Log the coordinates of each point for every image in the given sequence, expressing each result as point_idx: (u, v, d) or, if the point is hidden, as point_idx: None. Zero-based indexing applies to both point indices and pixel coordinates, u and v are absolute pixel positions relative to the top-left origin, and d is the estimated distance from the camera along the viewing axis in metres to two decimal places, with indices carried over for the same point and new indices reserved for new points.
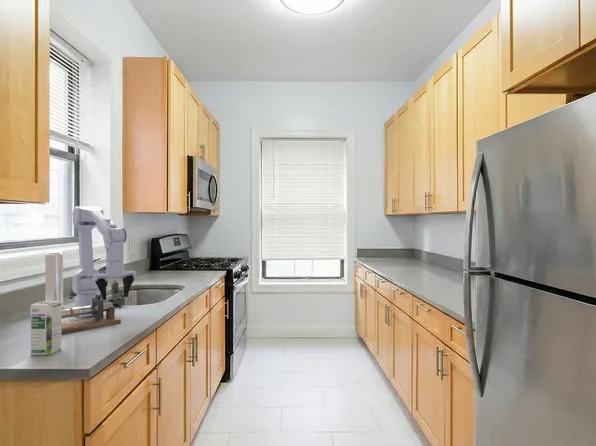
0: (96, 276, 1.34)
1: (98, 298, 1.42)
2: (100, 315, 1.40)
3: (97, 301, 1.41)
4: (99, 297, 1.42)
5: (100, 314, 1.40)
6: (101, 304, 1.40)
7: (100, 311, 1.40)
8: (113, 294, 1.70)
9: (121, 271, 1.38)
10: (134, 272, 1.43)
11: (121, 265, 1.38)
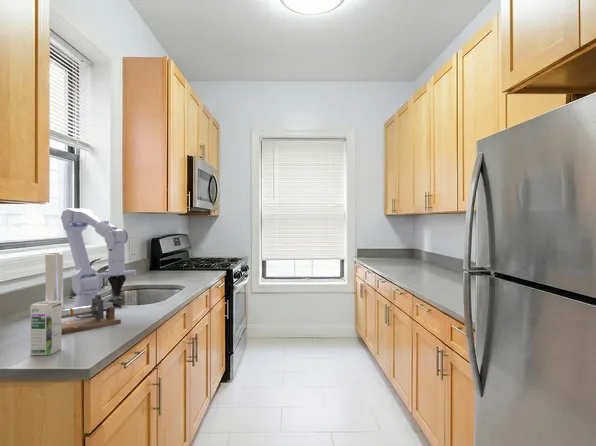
0: (99, 275, 1.42)
1: (98, 298, 1.42)
2: (100, 315, 1.40)
3: (97, 301, 1.41)
4: (99, 297, 1.42)
5: (100, 314, 1.40)
6: (101, 304, 1.40)
7: (100, 311, 1.40)
8: (113, 294, 1.70)
9: (122, 270, 1.47)
10: (134, 271, 1.52)
11: (122, 264, 1.47)
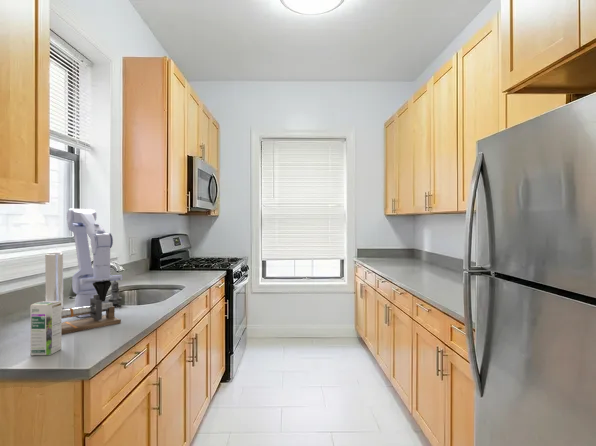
0: (83, 280, 1.38)
1: (96, 298, 1.41)
2: (98, 315, 1.40)
3: (95, 301, 1.40)
4: (97, 297, 1.42)
5: (98, 314, 1.40)
6: (99, 304, 1.40)
7: (98, 311, 1.40)
8: (113, 294, 1.70)
9: (108, 275, 1.43)
10: (121, 276, 1.48)
11: (108, 269, 1.43)
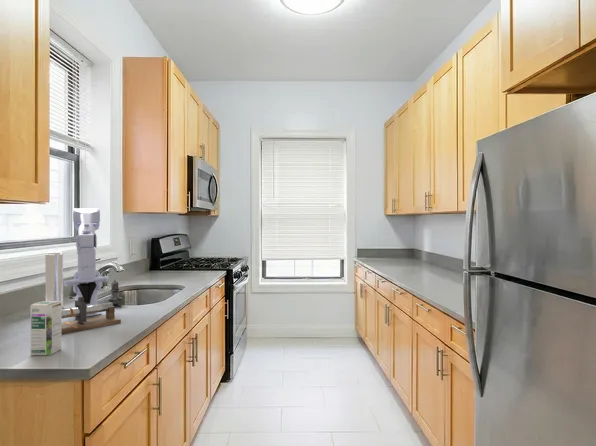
0: (67, 282, 1.34)
1: (81, 300, 1.38)
2: (83, 318, 1.36)
3: (80, 304, 1.36)
4: (82, 299, 1.38)
5: (83, 317, 1.36)
6: (84, 307, 1.36)
7: (83, 314, 1.36)
8: (113, 294, 1.70)
9: (93, 277, 1.39)
10: (107, 277, 1.44)
11: (93, 271, 1.39)
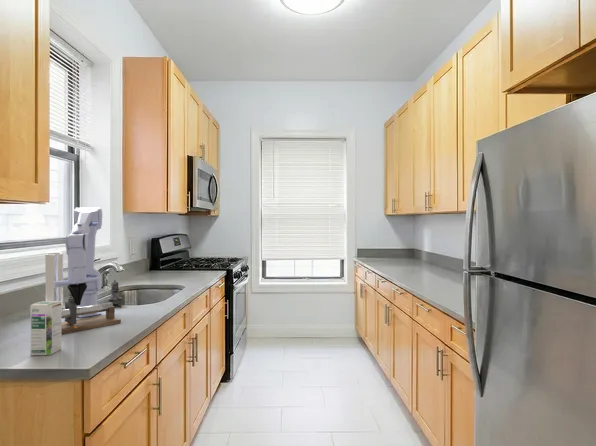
0: (56, 283, 1.32)
1: (71, 302, 1.35)
2: (73, 320, 1.33)
3: (70, 305, 1.34)
4: (72, 301, 1.35)
5: (73, 319, 1.33)
6: (74, 308, 1.34)
7: (73, 316, 1.33)
8: (113, 294, 1.70)
9: (83, 278, 1.37)
10: (97, 278, 1.42)
11: (83, 271, 1.37)
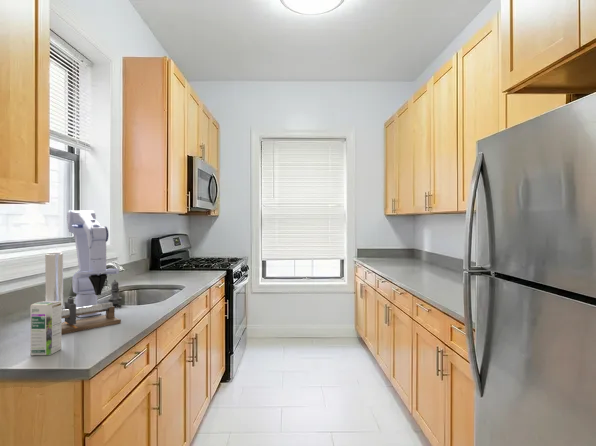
0: (79, 273, 1.39)
1: (70, 302, 1.35)
2: (72, 320, 1.33)
3: (69, 305, 1.34)
4: (71, 301, 1.35)
5: (72, 319, 1.33)
6: (73, 308, 1.34)
7: (72, 316, 1.33)
8: (113, 294, 1.70)
9: (103, 268, 1.43)
10: (117, 270, 1.48)
11: (103, 263, 1.43)
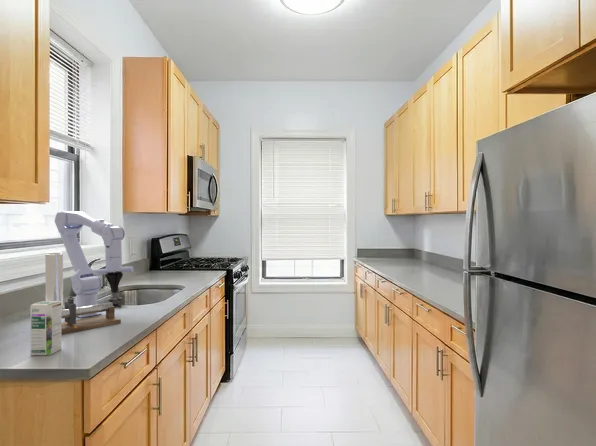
0: (96, 271, 1.44)
1: (70, 302, 1.35)
2: (72, 320, 1.33)
3: (69, 305, 1.34)
4: (71, 301, 1.35)
5: (72, 319, 1.33)
6: (73, 308, 1.34)
7: (72, 316, 1.33)
8: (113, 294, 1.70)
9: (119, 266, 1.49)
10: (131, 267, 1.54)
11: (119, 261, 1.49)
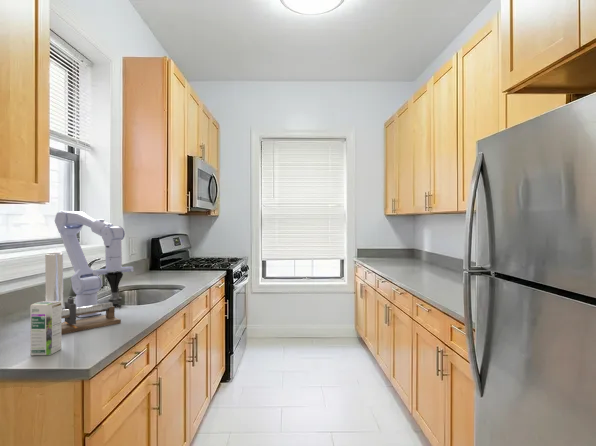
0: (96, 271, 1.44)
1: (70, 302, 1.35)
2: (72, 320, 1.33)
3: (69, 305, 1.34)
4: (71, 301, 1.35)
5: (72, 319, 1.33)
6: (73, 308, 1.34)
7: (72, 316, 1.33)
8: (113, 294, 1.70)
9: (119, 266, 1.49)
10: (131, 267, 1.54)
11: (119, 261, 1.49)
